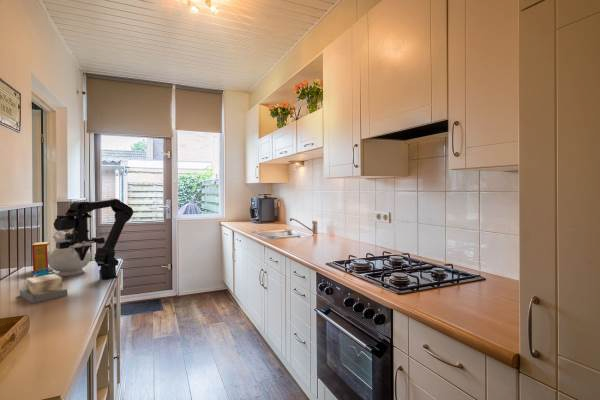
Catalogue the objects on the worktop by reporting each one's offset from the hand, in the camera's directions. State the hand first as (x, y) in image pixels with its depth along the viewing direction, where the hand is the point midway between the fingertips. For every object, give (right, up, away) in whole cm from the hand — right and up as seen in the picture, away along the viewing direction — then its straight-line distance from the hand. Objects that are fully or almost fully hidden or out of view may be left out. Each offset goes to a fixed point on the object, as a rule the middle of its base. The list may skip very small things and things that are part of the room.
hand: (81, 260), depth 154 cm
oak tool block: (-8, -13, -12) cm, 19 cm away
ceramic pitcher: (-21, -12, +23) cm, 33 cm away
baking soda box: (-43, -12, +31) cm, 54 cm away
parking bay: (-8, -13, -13) cm, 20 cm away
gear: (-20, -13, +3) cm, 24 cm away
